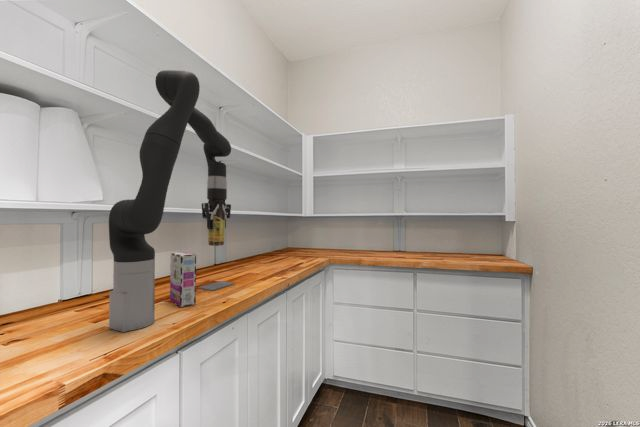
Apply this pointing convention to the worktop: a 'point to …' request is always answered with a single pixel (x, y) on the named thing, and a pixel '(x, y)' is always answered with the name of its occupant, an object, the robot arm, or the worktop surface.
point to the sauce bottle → (217, 226)
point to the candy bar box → (183, 279)
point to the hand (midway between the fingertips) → (216, 228)
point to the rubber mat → (216, 286)
